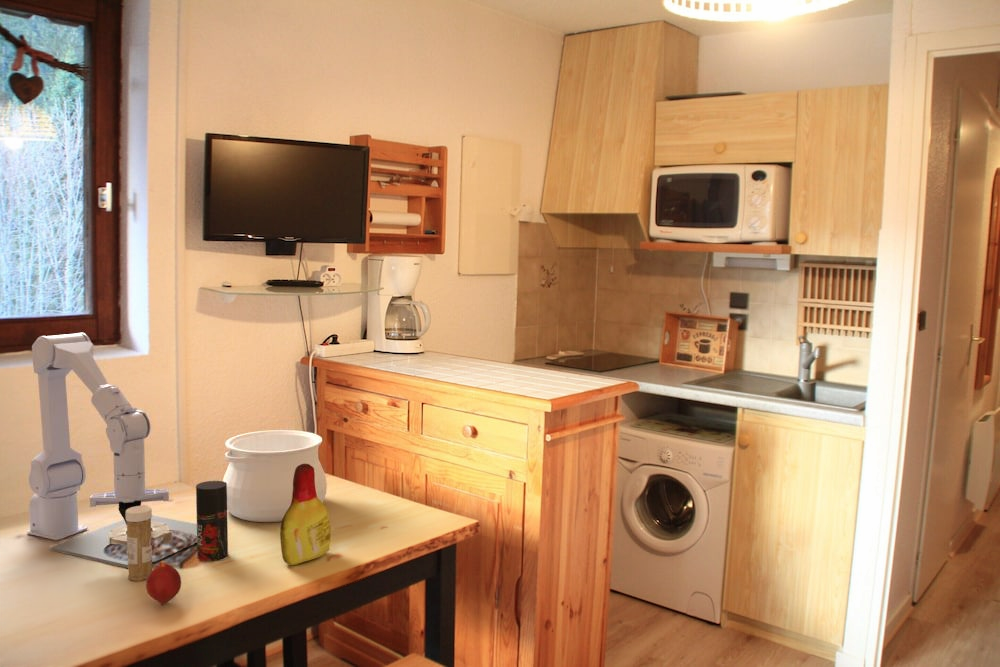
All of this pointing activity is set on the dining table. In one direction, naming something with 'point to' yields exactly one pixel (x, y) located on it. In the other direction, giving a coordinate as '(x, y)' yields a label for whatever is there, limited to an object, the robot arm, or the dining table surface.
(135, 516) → the sprinkles bottle
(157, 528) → the beige angular piece
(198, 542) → the deodorant
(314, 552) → the bottle
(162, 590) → the onion
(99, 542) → the post board
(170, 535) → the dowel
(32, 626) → the dining table surface
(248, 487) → the pot
